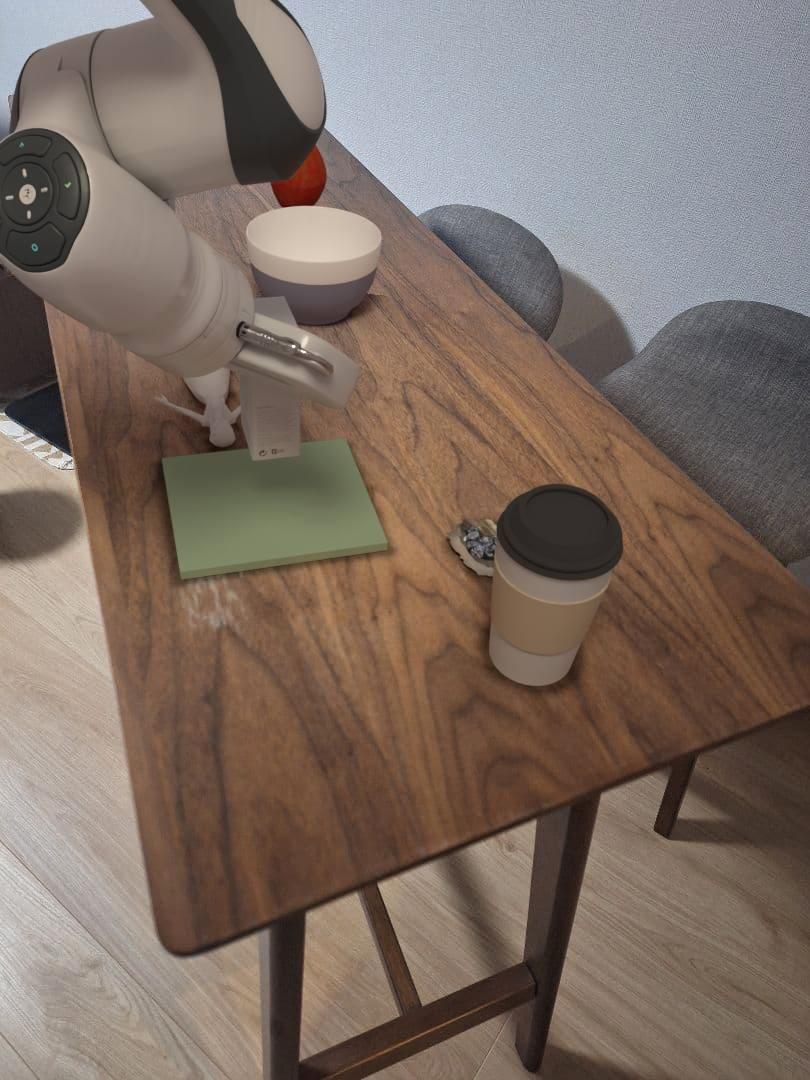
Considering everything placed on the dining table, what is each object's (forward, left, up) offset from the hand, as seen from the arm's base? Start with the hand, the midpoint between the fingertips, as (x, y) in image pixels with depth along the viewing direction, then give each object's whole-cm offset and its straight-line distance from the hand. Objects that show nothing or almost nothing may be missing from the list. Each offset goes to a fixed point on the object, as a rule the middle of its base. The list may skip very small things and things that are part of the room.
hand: (271, 371), depth 75 cm
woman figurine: (-3, +18, -14) cm, 23 cm away
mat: (0, 0, -14) cm, 14 cm away
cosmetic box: (0, 0, -7) cm, 7 cm away
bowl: (+12, +37, -14) cm, 41 cm away
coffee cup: (+17, -22, -14) cm, 31 cm away
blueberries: (+18, -10, -14) cm, 25 cm away
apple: (+16, +67, -14) cm, 71 cm away
